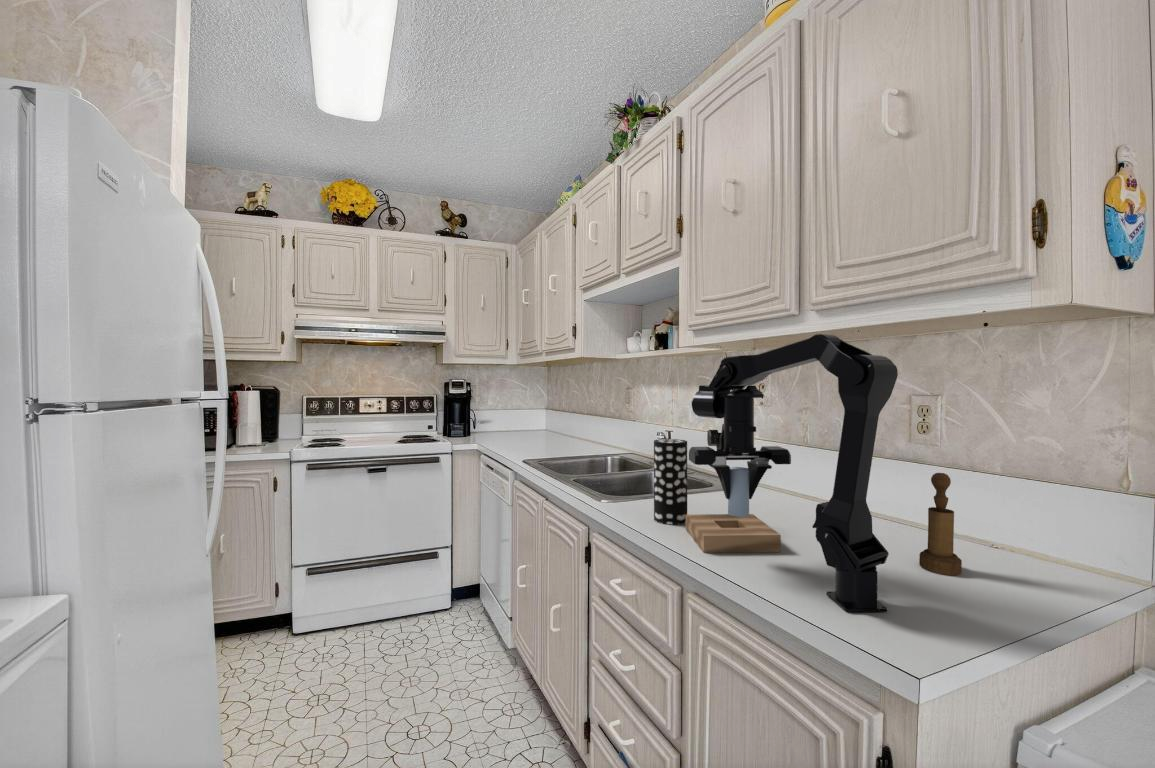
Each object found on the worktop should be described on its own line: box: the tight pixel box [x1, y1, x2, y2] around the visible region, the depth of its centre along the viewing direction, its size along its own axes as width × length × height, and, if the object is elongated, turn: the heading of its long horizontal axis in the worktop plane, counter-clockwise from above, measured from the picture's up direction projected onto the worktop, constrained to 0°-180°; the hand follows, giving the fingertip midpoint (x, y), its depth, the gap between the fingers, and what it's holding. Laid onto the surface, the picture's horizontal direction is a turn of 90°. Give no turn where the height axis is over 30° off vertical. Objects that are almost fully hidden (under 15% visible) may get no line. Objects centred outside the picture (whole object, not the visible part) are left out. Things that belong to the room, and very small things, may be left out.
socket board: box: [685, 513, 782, 554], centre depth 113 cm, size 16×16×4 cm
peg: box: [727, 466, 750, 517], centre depth 101 cm, size 4×4×9 cm
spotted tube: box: [653, 438, 688, 526], centre depth 129 cm, size 8×8×20 cm
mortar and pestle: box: [918, 472, 963, 576], centre depth 96 cm, size 7×6×18 cm
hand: (738, 498), depth 101 cm, fingers closed on peg, 4 cm apart
